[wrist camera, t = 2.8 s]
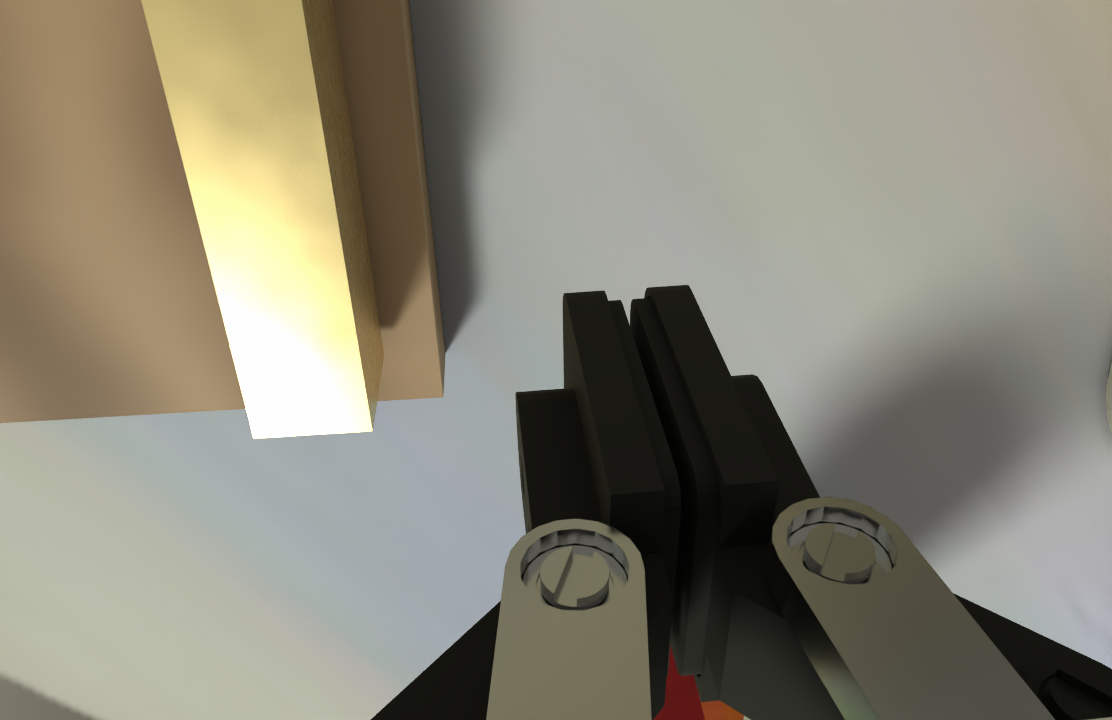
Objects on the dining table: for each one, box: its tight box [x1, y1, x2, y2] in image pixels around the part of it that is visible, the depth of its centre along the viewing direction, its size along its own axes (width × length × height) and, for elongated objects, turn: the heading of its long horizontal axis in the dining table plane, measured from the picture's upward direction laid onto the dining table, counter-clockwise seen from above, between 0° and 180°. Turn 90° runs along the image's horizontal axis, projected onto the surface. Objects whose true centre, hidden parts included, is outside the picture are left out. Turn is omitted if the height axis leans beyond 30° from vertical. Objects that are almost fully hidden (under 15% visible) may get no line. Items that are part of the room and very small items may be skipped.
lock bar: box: [141, 0, 384, 438], centre depth 16 cm, size 16×3×4 cm, turn 1°
